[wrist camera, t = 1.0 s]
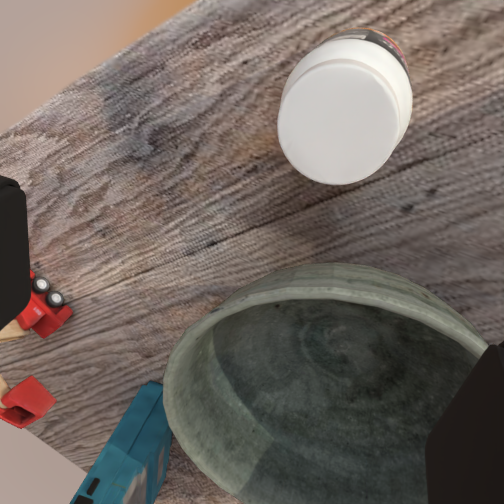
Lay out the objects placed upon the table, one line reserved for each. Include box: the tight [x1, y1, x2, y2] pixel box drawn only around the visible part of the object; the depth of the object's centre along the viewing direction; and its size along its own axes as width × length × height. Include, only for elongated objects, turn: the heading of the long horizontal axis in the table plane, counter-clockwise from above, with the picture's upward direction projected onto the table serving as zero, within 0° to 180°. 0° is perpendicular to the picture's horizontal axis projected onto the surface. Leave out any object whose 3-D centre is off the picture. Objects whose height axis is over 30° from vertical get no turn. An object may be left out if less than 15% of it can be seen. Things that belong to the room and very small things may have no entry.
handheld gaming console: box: [70, 381, 172, 504], centre depth 39 cm, size 10×4×15 cm, turn 171°
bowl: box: [163, 262, 488, 504], centre depth 31 cm, size 21×21×10 cm
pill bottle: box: [277, 28, 412, 185], centre depth 22 cm, size 6×6×10 cm
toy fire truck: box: [0, 269, 73, 429], centre depth 37 cm, size 3×14×10 cm, turn 41°
